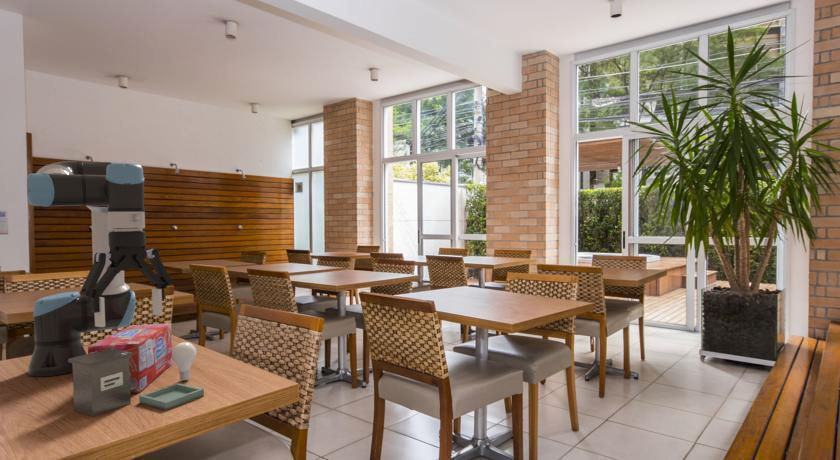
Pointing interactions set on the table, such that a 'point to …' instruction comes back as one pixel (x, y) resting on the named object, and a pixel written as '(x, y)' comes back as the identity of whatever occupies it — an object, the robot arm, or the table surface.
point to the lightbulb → (184, 358)
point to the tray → (171, 396)
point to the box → (141, 351)
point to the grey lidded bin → (101, 381)
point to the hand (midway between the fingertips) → (130, 320)
